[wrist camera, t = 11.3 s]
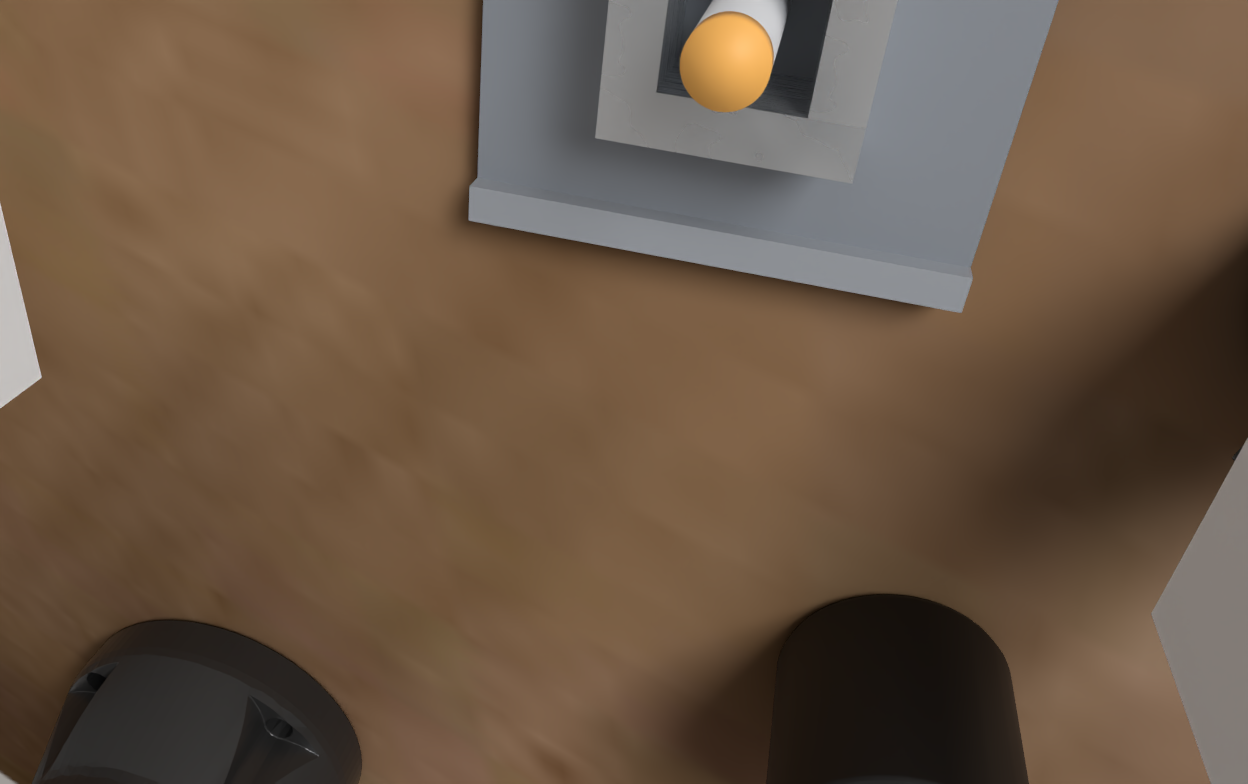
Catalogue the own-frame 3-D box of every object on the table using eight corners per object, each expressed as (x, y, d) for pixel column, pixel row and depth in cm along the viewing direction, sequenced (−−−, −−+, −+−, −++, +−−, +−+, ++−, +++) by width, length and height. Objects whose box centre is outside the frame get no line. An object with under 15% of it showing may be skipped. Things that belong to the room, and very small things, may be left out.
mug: (716, 729, 46) (688, 917, 38) (843, 554, 39) (839, 740, 32) (902, 810, 46) (910, 1012, 39) (1058, 651, 40) (1105, 857, 32)
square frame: (624, 98, 31) (595, 138, 27) (653, -162, 27) (624, -152, 24) (853, 137, 30) (852, 183, 27) (916, -124, 26) (924, -109, 23)
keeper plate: (485, 200, 34) (384, 317, 27) (507, -383, 26) (367, -445, 18) (956, 288, 33) (984, 437, 25) (1149, -306, 24) (1276, -339, 17)
